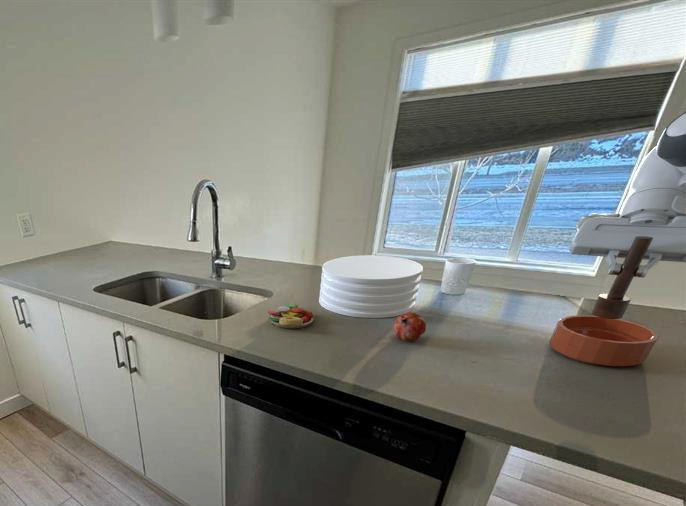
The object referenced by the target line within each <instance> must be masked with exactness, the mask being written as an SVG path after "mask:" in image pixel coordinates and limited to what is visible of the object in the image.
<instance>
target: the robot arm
mask: <svg viewBox="0 0 686 506" xmlns="http://www.w3.org/2000/svg"><path fill="white" fill-rule="evenodd" d="M575 230H576V231H577V232H576V233H575V235H574V237H573V239H572V241H571V243H570V245H569V248H568V251H569V252H570V254H571V255H576V256H589V257H590V256H591V257H605V263H606V264H607V266H608V268H609V269H608V272H607V275H610V276H612V275H613V276H617V275H618V273H619V272H620V270H621V267H622V264H623V263H618V261H617V258H618V259H625V258H626V256H627V254H628V252H629V249H630V247H631V245H632V243H633V241H634V239H635V237H638V236H646V237H652V238H653V240H652V242H651V244H650V246H649V248H648V250H647V252H646V254H645V256H644V258H643V260H645V261H646V260H647V262H646V264H645V265H642V264H640V266H639V267H638V269H637V272H636V274H635V275H634V278H641V279H643V278H646V276H647V274H648V272H649V271H650V270H651V269H652V268H654V267H655V266H657V265H658V264H659V262H660V261H661V262H672V263H686V111H684V112H682V113H681V114H679V116H677V117H675V119H673V120H672V121H671V122H670V123H669V124H668V125H667V126H666V127H665V129H664V130H663V132H662V133H661V135H660V137H659V139H658V142H657V144H656V146H654V147H653V149H651V150H650V151H649V153H647V155H646V156H645V157H644V159H642V161H641V163H640V164H639V166H638V168H637V169H636V171H635V173H634V176H633V179H632V181H631V184H630V187H629V195H627V197H626V198H625V200H624V202H623V203H622V207H621V209H620V211H619V213H590V214H589V215H584V216H582V217H580V218H579V219H578V220H577V223H576V225H575Z"/></svg>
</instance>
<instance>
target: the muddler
mask: <svg viewBox="0 0 686 506" xmlns="http://www.w3.org/2000/svg"><path fill="white" fill-rule="evenodd" d="M652 240H653V238H652V237H646V236H638V237H635V239H634V241H633V243H632V245H631V247H630V249H629V252H628V254H627V256H626V258H624V260H623V262H622V263H621V264H622V267H621V270H620V272H619V273H618V275H616V277H615V279H614V280H613V283H612V285H611V287H610V290H609V291H608V293H600V294H599V295H598V296H597V299H596V301H595V304H594V305H593V308H592V309H591V312H590V314H591V316H597V317H601V318H606V319H622V318H623V316H624V314H625V313H626V311H627V309H628V307H629V305H630V302H631V301H632V298H631V297H629V296H627V295H626V293H627V291H628V289H629V288H630V286H631V283H632V281H633V280H634V278H635V277H634V275H635V274H636V272H637V269H638V267H639V266H640V265H642V264H641V263H642V261H643V260H644V259H643V258H644V256H645V254H646V252H647V250H648V248H649V246H650V244H651V242H652Z"/></svg>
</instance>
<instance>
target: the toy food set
mask: <svg viewBox="0 0 686 506" xmlns="http://www.w3.org/2000/svg"><path fill="white" fill-rule="evenodd" d="M267 314H269V316H268V320H269V321H270V322H271V323H272V325H274V326H276V327H279V328H283V329H301V328H304V327H305V328H306V327H308V326H309V325H311V324H312V323H313V322H314V320H315V318H314V317H315V316H314V313H313V312H312V311H310V310H308V309H305V308H303V307H299V305H298V304H296V303H287V304H286V305H285V306H279V307H276V311H275V310H268V311H267Z"/></svg>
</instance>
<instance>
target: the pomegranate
mask: <svg viewBox="0 0 686 506" xmlns="http://www.w3.org/2000/svg"><path fill="white" fill-rule="evenodd" d="M421 315H422V314H419V313H417V312H412V311H410V312H408V313H405V314H403V315H399V316H397V318H396V320H395V322H394V323H393V326H392V327H393V334H394V335H395V337H396V338H397V339H399V340H402V341H404V342H408V343H412V342H414V341H417V340H419V339H420V338H421V336H422V335H423V334H424V333H426V331H427V322H426V321H425V319H424V318H423V317H422V316H421Z"/></svg>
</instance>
